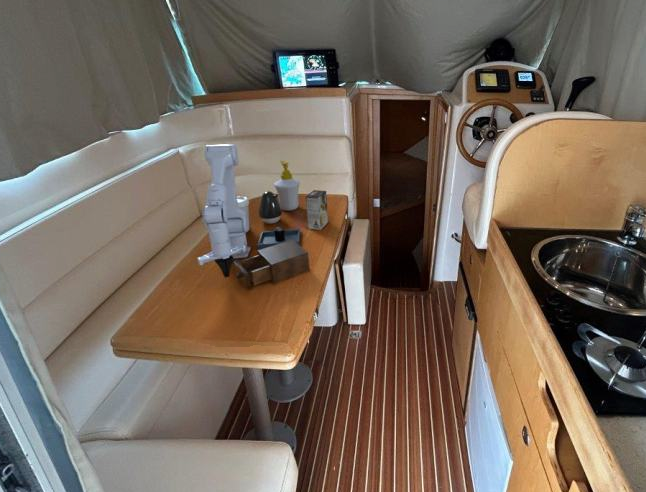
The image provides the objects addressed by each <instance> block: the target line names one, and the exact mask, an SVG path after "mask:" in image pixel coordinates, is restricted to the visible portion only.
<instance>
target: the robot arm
mask: <svg viewBox="0 0 646 492" xmlns="http://www.w3.org/2000/svg"><path fill="white" fill-rule="evenodd" d="M203 152H204V158H205V161H206V162H207V165H208V166H210V173H211V174H210V175H211V179H210V180H211V184H210V185H209V186H207V189H206V190H207V191H206V200H205V207H203V208H202V212H201V213H202V214H201V215H202V222H203V223H204V225H205V229H206V230H207V232H208V237H209V242H210V247H211V252H208V253H206V254H204V255H201V256H199V257H197V262H198V264H199V266H203V265H204V264H206V263H210V262H213V261H214V262H215V263H216V265H217V266H218V267H219V268H220V271H221V273H222V275H223V277H224V278H229V277H230V273H231V267H232V265H233V263H234V262H233V261H235V260H234V259H247V258H249V257H248V256H249V254H250V251H251V248H252V247H251V246H248V242H247V236H246V235H247V234H246V233H248V232H249V231H248V228H249V229H250V223H249V224H248V218H247V214H246V212H244V211H242V210H240V209H239V208H238V203H237V196H238V195H237V188H236V180H235V179H236V178H235V167H236V166H239V162H240V161H239V152H238V147H237V146H236V144H234V143H232V144H206V145H205V147H204V151H203ZM247 231H248V232H247Z"/></svg>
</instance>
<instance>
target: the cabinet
mask: <svg viewBox="0 0 646 492" xmlns="http://www.w3.org/2000/svg"><path fill="white" fill-rule="evenodd" d="M257 255H261V256H262V257H263V258H264V259H265V260H266V261H267V262H268V263H269V264H270V265H271V270H272V278H273V279H271V280H270V281H271V282H272V283H273V284H274V285H275V284H277V283H280V282H282V281H285V280H288V279H291V278H293V277H296V276H298V275H301V274H303V273H306V272H308V271H310V260H309V259H310V258H309V251H307V250H306V249H305V248H304V247H303V246H301V245H300V244H299V245H298V244H297V243H296V242H294V241H293V240H290V241H287V242H283V243H280V244H277V245H274V246H271V247H267V248H263V249H258V250H257Z"/></svg>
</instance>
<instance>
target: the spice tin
mask: <svg viewBox="0 0 646 492" xmlns="http://www.w3.org/2000/svg"><path fill="white" fill-rule="evenodd" d="M284 230H285V228H284V227H283V226H277V227H274V229H273V231H274V233H275V241H278V242H280V241H284V240H285V234H284Z"/></svg>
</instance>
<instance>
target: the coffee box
mask: <svg viewBox="0 0 646 492" xmlns="http://www.w3.org/2000/svg"><path fill="white" fill-rule="evenodd" d="M327 199H328V198H327V190H317V189H316V190H315V189H314V190H312V191H311V192H310V193H308V194H307V195H306V196H305V205H306V217H307V228H308V229H309V230H318V231H320V230H321V231H322V230H323V228H324V227H325V226H326V225H327V224H328V223H329V214H328V213H329V212H328V200H327Z"/></svg>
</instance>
